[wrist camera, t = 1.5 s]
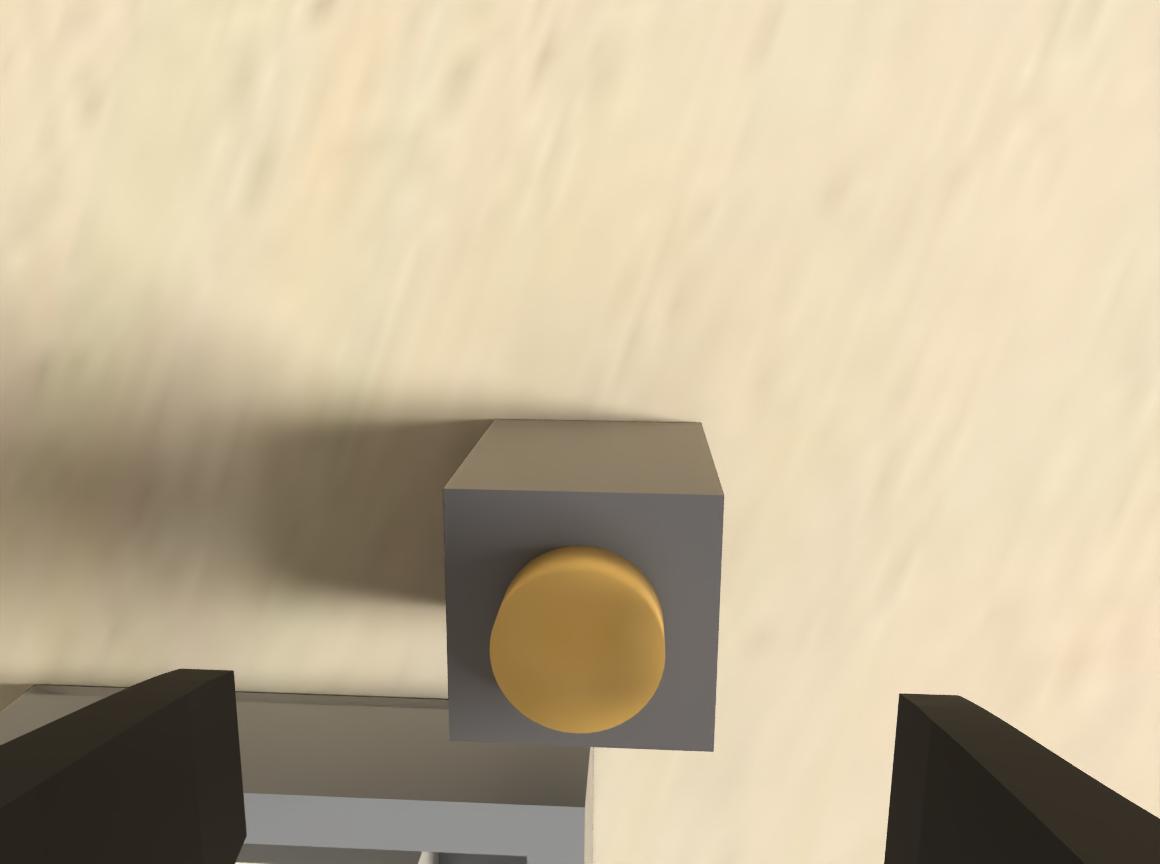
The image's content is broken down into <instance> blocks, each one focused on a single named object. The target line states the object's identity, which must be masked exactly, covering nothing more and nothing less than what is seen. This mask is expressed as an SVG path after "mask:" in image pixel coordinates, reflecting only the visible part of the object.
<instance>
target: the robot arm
mask: <svg viewBox="0 0 1160 864" xmlns="http://www.w3.org/2000/svg"><path fill="white" fill-rule="evenodd" d="M246 836H247V831H246V819H245V806H244V794H243V781H242V769H241V757H240V744H239V732H238V719H237V707H236V694H235V682H234V671H228V670H199V669H178V670H175V671H171V672H168V673H165V674H162V675H159V676H156V677H153V678H151V679H148V680H146V681H143V682H141V683H138V684H136V685H133V686H131V687H129V688H126V689H124V690H121V691H119V692H117V693H115V694H112V695H110V696H108V697H106V698H103V699H101V700H99V701H97V702H94V703H92V704H90V705H88V706H86V707H83V708H81V709H79V710H77V711H75V712H72V713H70V714H68V715H66V716H64V717H61V718H59V719H57V720H55V721H53V722H50V723H48V724H46V725H44V726H42V727H39V728H37V729H35V730H33V731H31V732H28V733H26V734H24V735H22V736H20V737H17V738H15V739H13V740H11V741H9V742H6V743H4V744H2V745H0V864H235V863H236V860H237V858H238V855H239V853H240V851H241V848H242V846H243V844H244V841H245V839H246ZM884 864H1160V819H1159V818H1158V817H1156V816H1154V815H1153V814H1151V813H1149V812H1148V811H1146V810H1144V809H1143V808H1141V807H1139V806H1138V805H1136V804H1134V803H1133V802H1131V801H1129V800H1128V799H1126V798H1124V797H1123V796H1121V795H1119V794H1118V793H1116V792H1115V791H1113V790H1111V789H1110V788H1108V787H1107V786H1105V785H1103V784H1102V783H1100V782H1099V781H1097V780H1095V779H1094V778H1092V777H1091V776H1089V775H1087V774H1086V773H1084V772H1083V771H1081V770H1080V769H1078V768H1076V767H1075V766H1073V765H1072V764H1070V763H1069V762H1067V761H1065V760H1064V759H1062V758H1061V757H1059V756H1058V755H1056V754H1055V753H1053V752H1051V751H1050V750H1048V749H1047V748H1045V747H1044V746H1042V745H1041V744H1039V743H1037V742H1036V741H1034V740H1033V739H1031V738H1030V737H1028V736H1027V735H1025V734H1023V733H1022V732H1020V731H1019V730H1017V729H1016V728H1014V727H1013V726H1011V725H1009V724H1008V723H1006V722H1005V721H1003V720H1001V719H1000V718H998V717H996V716H995V715H993V714H992V713H990V712H988V711H987V710H985V709H983V708H982V707H980V706H978V705H976V704H974V703H973V702H971V701H969V700H967V699H965V698H963V697H961V696H956V695H927V694H899V704H898V716H897V727H896V738H895V749H894V761H893V772H892V783H891V794H890V806H889V817H888V828H887V840H886V851H885V862H884Z"/></svg>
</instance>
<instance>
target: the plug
mask: <svg viewBox="0 0 1160 864" xmlns="http://www.w3.org/2000/svg"><path fill="white" fill-rule="evenodd" d="M443 507H444V546H445V585H446V624H447V664H448V703H449V741H455V742H480V743H506V744H531V745H556V746H582V747H607V748H633V749H658V750H683V751H709V752H713V751H714V727H715V703H716V679H717V655H718V631H719V607H720V583H721V559H722V535H723V511H724V493H723V490H722V487H721V484H720V481H719V477H718V474H717V471H716V468H715V465H714V462H713V458H712V455H711V452H710V449H709V446H708V443H707V439H706V436H705V433H704V430H703V427H702V424H701V423H688V422H635V421H582V420H529V419H494V421H493V422H492V423H491V425H490V426H489V427H488V429H487V430H486V431H485V433H484V434H483V435H482V437H481V438H480V439H479V441H478V442H477V443H476V445H475V446H474V448H473V449H472V450H471V452H470V453H469V454H468V456H467V457H466V458H465V460H464V461H463V462H462V464H461V465H460V466H459V468H458V469H457V470H456V472H455V473H454V474H453V476H452V477H451V479H450V480H449V481H448V483H447V484H446V485H445V487H444V488H443Z"/></svg>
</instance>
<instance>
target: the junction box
mask: <svg viewBox="0 0 1160 864" xmlns="http://www.w3.org/2000/svg"><path fill="white" fill-rule="evenodd" d="M124 689H126V688H110V687H82V686H55V685H34V686H32V687H31V688H30V689H28V690H27V691H26V692H25V693H23V694H22V695H21V696H19V697H18V698H17V699H15V700H14V701H13V702H11V703H10V704H9V705H7V706H6V707H5V708H4V709H2V710H1V711H0V745H2V744H4V743H6V742H9V741H11V740H13V739H15V738H17V737H20V736H22V735H24V734H26V733H28V732H31V731H33V730H35V729H37V728H39V727H42V726H44V725H46V724H48V723H50V722H53V721H55V720H57V719H59V718H61V717H64V716H66V715H68V714H70V713H72V712H75V711H77V710H79V709H81V708H83V707H86V706H88V705H90V704H92V703H94V702H97V701H99V700H101V699H103V698H106V697H108V696H110V695H112V694H115V693H117V692H119V691H121V690H124ZM235 694H236V707H237V719H238V732H239V744H240V757H241V769H242V781H243V794H244V806H245V819H246V831H247V836H246V839H245V841H244V844H243V846H242V848H241V851H240V853H239V855H238V858H237V860H236V863H235V864H592V853H593V762H594V747H582V746H556V745H531V744H506V743H480V742H455V741H449V703H448V700H442V699H414V698H386V697H359V696H331V695H304V694H276V693H248V692H235Z"/></svg>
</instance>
